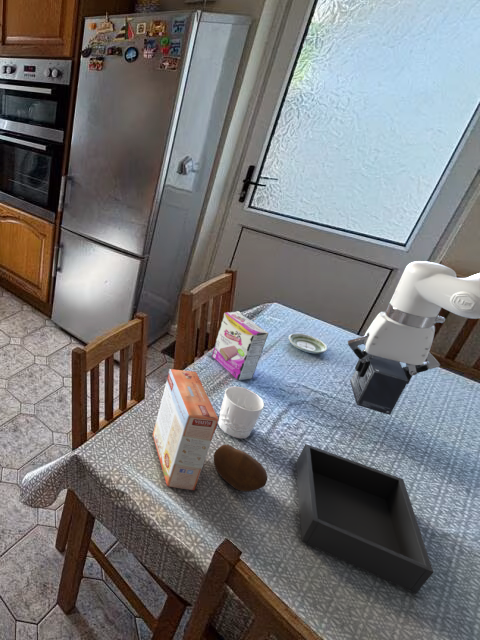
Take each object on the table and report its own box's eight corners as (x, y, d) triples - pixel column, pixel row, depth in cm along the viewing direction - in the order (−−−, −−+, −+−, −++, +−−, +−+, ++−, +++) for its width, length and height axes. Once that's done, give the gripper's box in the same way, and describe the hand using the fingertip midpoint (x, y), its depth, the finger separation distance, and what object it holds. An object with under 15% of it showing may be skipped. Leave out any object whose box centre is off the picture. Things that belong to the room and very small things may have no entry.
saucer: (319, 343, 131) (322, 336, 130) (329, 361, 123) (332, 355, 122) (283, 336, 135) (285, 329, 134) (290, 353, 127) (292, 347, 126)
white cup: (258, 444, 97) (270, 412, 93) (221, 439, 98) (232, 408, 94) (243, 418, 104) (255, 388, 100) (210, 414, 105) (220, 384, 101)
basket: (388, 501, 84) (403, 479, 81) (414, 595, 69) (433, 572, 67) (295, 465, 92) (305, 443, 89) (300, 542, 77) (312, 519, 74)
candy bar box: (209, 357, 126) (223, 311, 119) (224, 355, 126) (238, 310, 119) (237, 382, 116) (253, 334, 109) (252, 380, 116) (270, 332, 109)
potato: (215, 456, 94) (224, 431, 91) (265, 485, 88) (276, 460, 84) (203, 476, 90) (212, 451, 86) (254, 508, 83) (266, 482, 80)
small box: (392, 416, 96) (411, 381, 92) (356, 406, 99) (372, 371, 95) (382, 389, 104) (399, 356, 100) (348, 380, 107) (363, 347, 103)
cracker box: (196, 492, 87) (221, 419, 78) (165, 487, 88) (186, 415, 79) (178, 438, 99) (197, 370, 90) (151, 434, 100) (168, 367, 91)
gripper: (459, 318, 90) (424, 382, 97) (355, 298, 99) (331, 358, 106) (472, 335, 85) (434, 402, 92) (361, 312, 93) (334, 375, 101)
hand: (379, 378), depth 99 cm, fingers closed on small box, 6 cm apart
